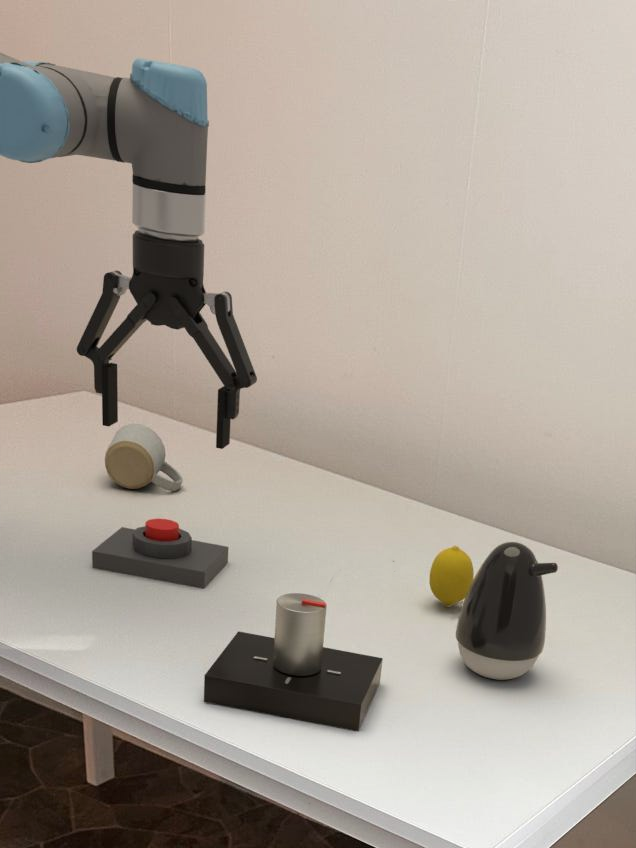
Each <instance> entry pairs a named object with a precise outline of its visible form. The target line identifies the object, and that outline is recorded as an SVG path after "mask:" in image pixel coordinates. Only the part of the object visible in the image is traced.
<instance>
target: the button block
mask: <svg viewBox="0 0 636 848" xmlns="http://www.w3.org/2000/svg"><path fill="white" fill-rule="evenodd" d="M91 562H92V563H91V564H92V565H91V566H92V569H95V570H102V571H106V572H107V571H108V572H112V573H116V574H117V573H118V574H123V575H129V576H133V577H139V578H144V579H150V580H155V581H161V582H167V583H171V584H175V585H182V586H187V587H193V588H198V589H206V588H207V586H209V584H210V583H211V582H212V581H213V580H214V579H215V577H216V576H218V574H220V572H221V571H222V570H223V569H224V568H225V567H226V566H227V565H228V563H229V546H226V545H220V544H215V543H210V542H204V541H200V540H194V539H192V535H191V534H190V532H188V531H187V530H184V529H182V528H180V527H179V539H178V540H174V541H156V540H151V539H149V538H146V537H145V525H144V526H140V527H139V526H138V527H137V528H134V529H133V528H129V527H123V526H122V527H120V528H119V529H118V530H117V531H115V532H114V533H112V535H110V536H109V537H108V538H106V539H105V540H104V541H102V542H101V543H100V544H98V546H97V547H95V548H94V549H93V550H92V551H91Z"/></svg>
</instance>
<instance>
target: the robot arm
mask: <svg viewBox="0 0 636 848" xmlns="http://www.w3.org/2000/svg"><path fill="white" fill-rule="evenodd" d="M209 126H210V120H209V118H208V83H207V79H206V77H205V76H204V74H203V72H201V71H200V70H199V69H197V68H195V67H190V66H185V65H181V64H174V63H171V62H170V63H169V62H162V61H158V60H152V59H148V58H147V59H146V58H136V59H135V60H133V62H132V66H131V73H130V74H129V77H119V76H117V77H114V76H111V75H105V74H101V73H97V72H91V71H86V70H83V69H78V68H77V69H76V68H71V67H68V66H67V67H65V66H61V65H56V64H55V63H51V62H50V61H49V62H44V61H37V62H35V61H28V60H19V59H17V58H14V57H12V56H10V55H8V54H5V53H3V52H1V51H0V156H1V157H4V158H6V159H9V160H13V161H17V162H20V163H21V162H22V163H27V164H36V163H41V162H43V161H46V160H50V159H54V158H63V157H70V156H82V157H83V156H84V157H89V158H96V159H102V160H107V161H108V160H109V161H114V162H118V163H124V164H125V163H127V164H131V170H132V181H131V182H132V210H131V211H132V214H131V216H132V219H131V220H132V221H131V222H132V224H133V225H134V226H135V227H137V230H135V231H134V233H133V234H132V276H131V277H130V276H126V275H123V273H122V272H121V271H120V270H113V271H109V272H106V273H105V274H103V282H102V293H101V295H100V297H99V300H98V301H97V304H96V306H95V307H94V310H93V311H92V314H91V316H90V319H89V320H88V323H87V325H86V326H85V329H84V331H83V333H82V335H81V338H80V339H79V342H78V344H77V346H76V352H77V354H78V355H79V356H81V357H85V358H86V359H88V360H90V361H91V362H92V364H93V379H94V380H93V381H94V382H93V384H94V385H93V386H94V387H93V388H94V391H95V393H96V394H100V395H101V419H102V426H105V427H111V426H113V425H114V424H116V423H118V422H119V409H118V408H119V406H118V405H119V404H118V403H119V402H118V399H119V398H118V395H119V394H118V393H119V392H118V363H115V362H110V361H111V360H113V357H114V356H115V355H116V354H117V353H118V351H120V349H121V348H122V347H123V346H124V345H125V344H126V343H127V342H128V341H129V340H130V338H131V337H132V336H133V335H134V334H135V333H136V332H137V331H138V330H139V329H140V327H141V326H142V325H143V324H144V323H146V321H148V322H149V323H150V325H151V326H156V327H159V326H166V327H168V328H170V329H172V330H181V329H185V331H186V332H187V334H188V335H189V337H191V338H192V339H193V340H194V342H195V343H196V345H197V347H198V348H199V350H200V351H201V353H202V354H203V356H204V357H205V359H206V361H207V362H208V364H210V366H211V367H212V369H213V371H214V373H215V374H216V375H217V377H218V379H219V380H220V382H221V383H222V385H223V386H221V387H220V388H218V389H217V409H216V434H215V435H216V438H215V439H216V440H215V448H216V449H220V450H223V449H225V448H226V447H227V446H229V445H230V442H231V420H235V419H236V418H238V416H239V413H240V397H241V395H240V394H241V389H248V388H250V387H251V386H253V385H254V384H256V383H257V381H258V376H257V374H256V372H255V368H254V366H253V363H252V361H251V358H250V356H249V353H248V350H247V347H246V345H245V343H244V339H243V337H242V334H241V332H240V329H239V326H238V324H237V322H236V318H235V315H234V311H233V310H234V309H233V297H232V294H231V293H230V292H229V291H222V292H220V293H219V292H218V293H217V292H207V291H206V289H205V286H204V277H205V275H204V274H205V243H203V240H202V239H200V237H202V236H203V235H204V234H205V230H206V229H205V228H206V227H205V226H206V225H205V224H206V202H207V201H206V200H207V199H206V196H207V194H206V192H207V191H206V190H207V187H206V181H207V158H208V157H207V156H208V138H209V137H208V135H209ZM127 291H129V292H130V294H131V295H132V297H133V299H134V301H135V303H136V305H135V306H134V308H133V309H132V310H130V312H129V313H128V314H127V316H126V317H125V319H124V320H122V322H121V323H120V325H119V326H118V327H117V328H116V329H115V330H114V331H113V332H112V333H111V334H110V335H109V337H108V338H107V339H106V340H105V341H104V342H103V343H102V345H101V346H100V347H98V345H99V343H100V341H101V338H102V336H104V335H103V334H104V333H105V330H106V329H107V327H108V324H109V323H110V320H111V318H112V316H113V314H114V312H115V309H116V308H117V305H118V303H119V302H120V299H121V296H124V295H125V294H126V293H127ZM206 305H208V307H209V310H210V312H211V314H213V315H215V319H216V320H215V321H216V322H217V325H218V328H219V331H220V334H221V335H222V336H221V337H222V339H223V341H224V344H225V347H226V349H227V352H228V355H229V357H230V360H231V361H230V360H229V359H228V357H227V355H226V354H225V353H224V351H223V349H222V348H221V346H220V345H219V343H218V341H217V339H216V338H215V336H213V333H212V332H211V330H210V329H209V325H208V323H207V321H206V320H205V319H204V317H203V315H202V313H201V312H202V310H203V309H204V307H205V306H206ZM231 362H232V363H231Z"/></svg>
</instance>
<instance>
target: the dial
mask: <svg viewBox="0 0 636 848" xmlns="http://www.w3.org/2000/svg"><path fill="white" fill-rule="evenodd" d="M327 606H328V605H327V603H326V601H325V600H324V599H322V598H320V597H318V596H315V595H313V594H307V593H297V592H293V593H292V592H291V593H285V594H282V595H280V596H278V598H277V599H276V605H275V622H274V623H275V624H274V637H273V638H274V654H273V665H274V667H275V668H276V669H277V670H278V671H280V672H282V673H285V674H289V675H294V676H309V675H313V674H316V673H318V672H319V671H320V670H321V666H322V654H323V647H324V641H325V629H326V617H327Z"/></svg>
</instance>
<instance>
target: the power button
mask: <svg viewBox="0 0 636 848" xmlns="http://www.w3.org/2000/svg"><path fill="white" fill-rule="evenodd" d="M144 524H145V525H144V526H145V537H146V538H149V539H151V540H156V541H174V540H178V539H179V528H180V525H179V523H178V522H177V521H174V520H171V519H167V518H152V519H148V520H146V521H145V523H144Z"/></svg>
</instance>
